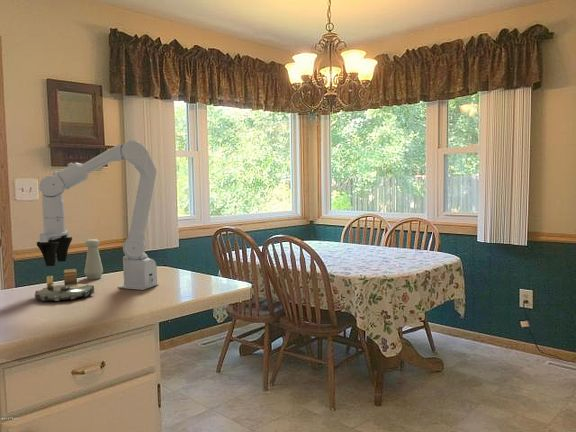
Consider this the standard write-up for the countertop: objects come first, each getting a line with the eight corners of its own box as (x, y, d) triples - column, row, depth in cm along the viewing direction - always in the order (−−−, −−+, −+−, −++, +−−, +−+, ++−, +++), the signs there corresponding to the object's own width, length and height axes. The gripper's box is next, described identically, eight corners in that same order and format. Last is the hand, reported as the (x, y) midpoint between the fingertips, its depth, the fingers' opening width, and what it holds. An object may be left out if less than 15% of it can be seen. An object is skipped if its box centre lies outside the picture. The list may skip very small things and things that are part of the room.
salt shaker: (96, 280, 160) (94, 240, 159) (81, 279, 161) (79, 240, 160) (106, 276, 166) (105, 238, 165) (91, 276, 167) (89, 238, 166)
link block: (77, 287, 150) (76, 271, 150) (64, 288, 149) (63, 272, 148) (77, 284, 155) (76, 268, 154) (64, 285, 153) (64, 269, 153)
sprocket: (64, 302, 128) (64, 285, 128) (21, 298, 134) (20, 281, 134) (106, 289, 143) (105, 273, 142) (65, 286, 148) (64, 270, 148)
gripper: (51, 215, 150) (53, 259, 151) (27, 220, 136) (30, 268, 137) (74, 215, 150) (76, 259, 151) (53, 219, 136) (55, 267, 137)
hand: (56, 263), depth 144 cm, fingers open, 7 cm apart
